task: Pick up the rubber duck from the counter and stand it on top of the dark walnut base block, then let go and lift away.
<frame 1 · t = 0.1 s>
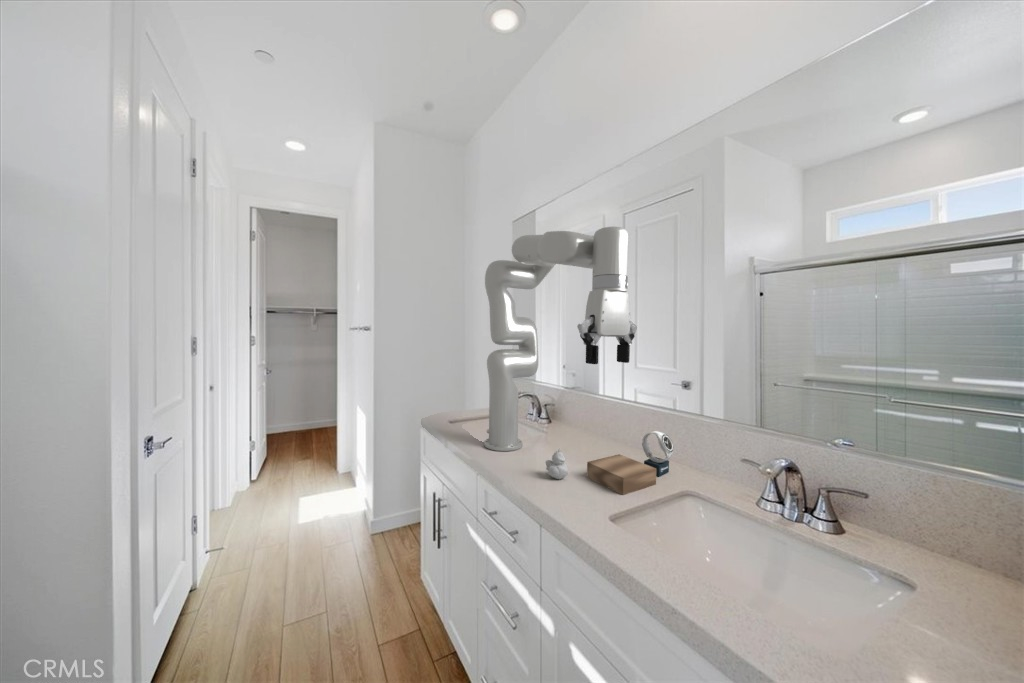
hand: (607, 362, 81), 31 cm above the worktop, tool pointing down, fingers open, 9 cm apart
rubber duck: (556, 477, 95), on the worktop
watch: (656, 473, 99), on the worktop
walnut base: (620, 480, 93), on the worktop
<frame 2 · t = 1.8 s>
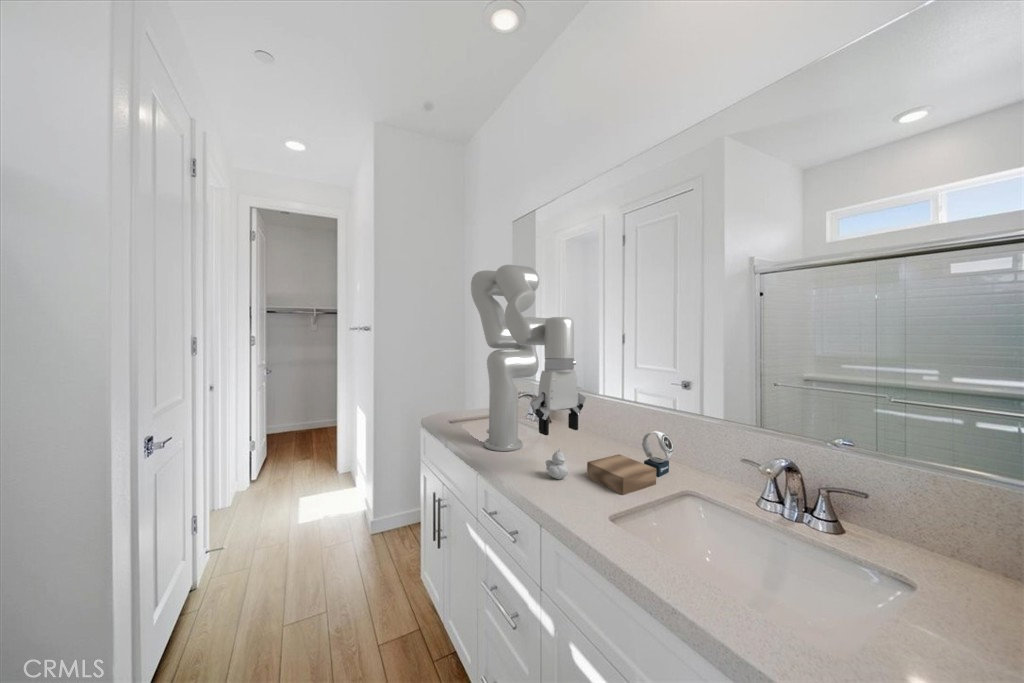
hand: (558, 431, 94), 12 cm above the worktop, tool pointing down, fingers open, 9 cm apart
nothing on the worktop moved.
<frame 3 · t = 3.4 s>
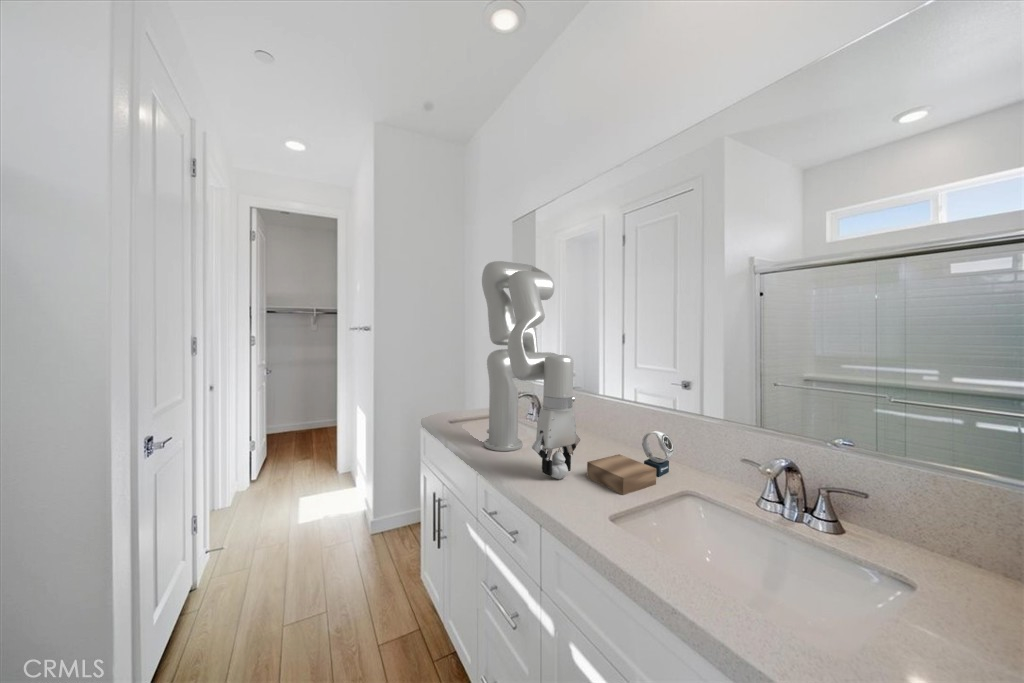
hand: (556, 471, 95), 2 cm above the worktop, tool pointing down, fingers closed on rubber duck, 5 cm apart
rubber duck: (556, 477, 95), on the worktop, touching gripper
everything else where it was.
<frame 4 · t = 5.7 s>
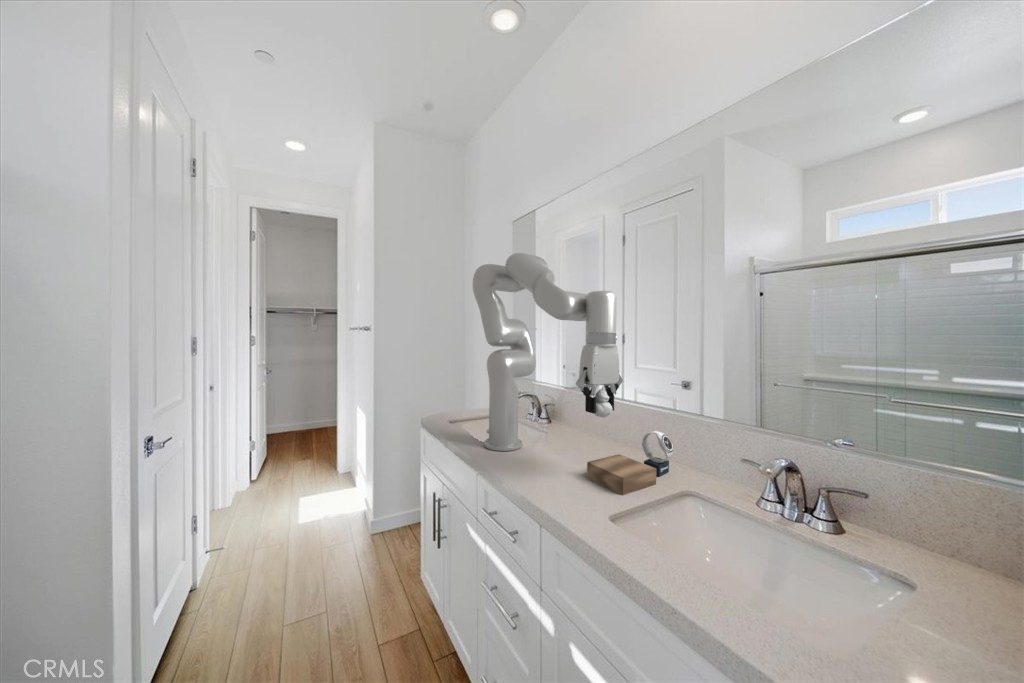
hand: (599, 410, 93), 18 cm above the worktop, tool pointing down, fingers closed on rubber duck, 5 cm apart
rubber duck: (599, 417, 93), point 16 cm above the worktop, touching gripper
everything else where it was.
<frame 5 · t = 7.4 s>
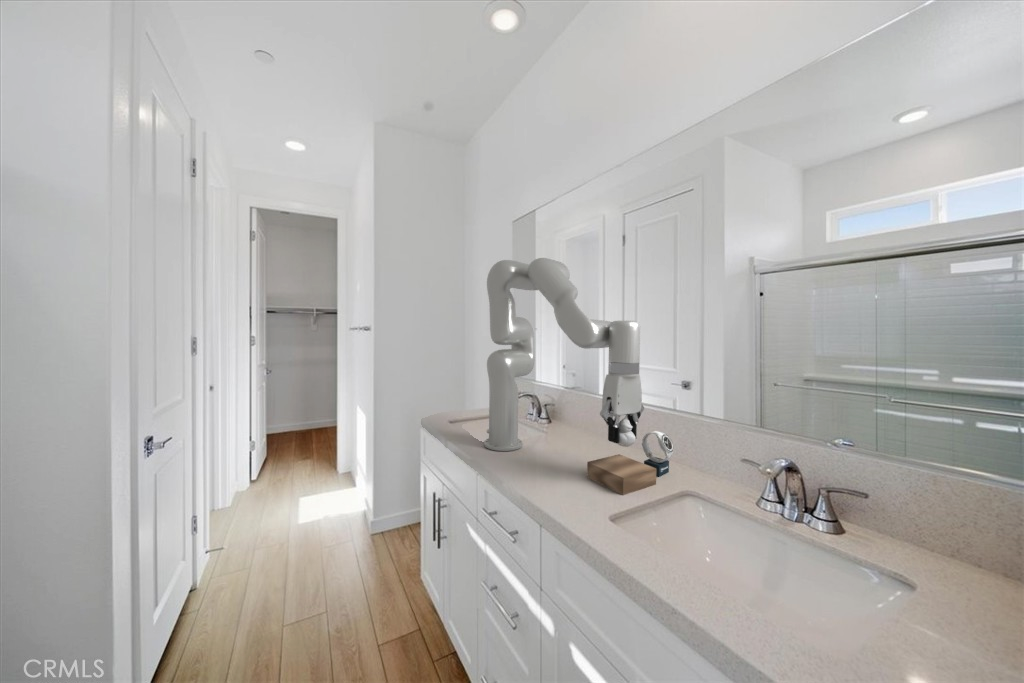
hand: (622, 439, 93), 11 cm above the worktop, tool pointing down, fingers closed on rubber duck, 5 cm apart
rubber duck: (622, 446, 93), point 9 cm above the worktop, touching gripper
everything else where it was.
when the fingers open (7 cm above the worktop, at t = 8.5 s): rubber duck drops 1 cm, resting on walnut base.
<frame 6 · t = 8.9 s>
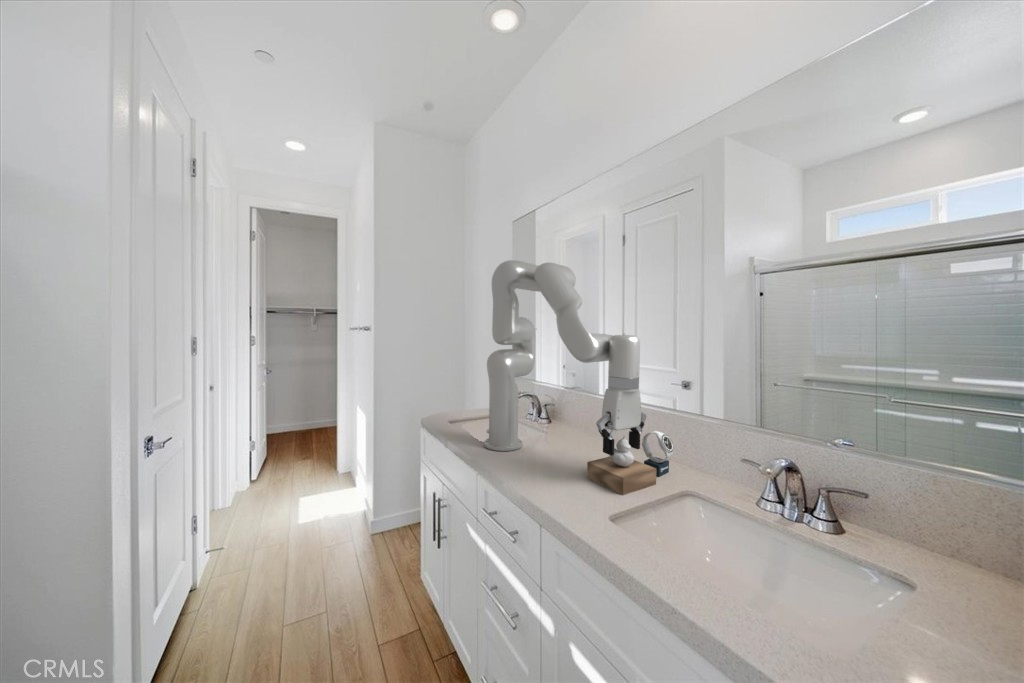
hand: (621, 450, 93), 8 cm above the worktop, tool pointing down, fingers open, 9 cm apart
rubber duck: (620, 465, 93), point 4 cm above the worktop, touching walnut base
everything else where it was.
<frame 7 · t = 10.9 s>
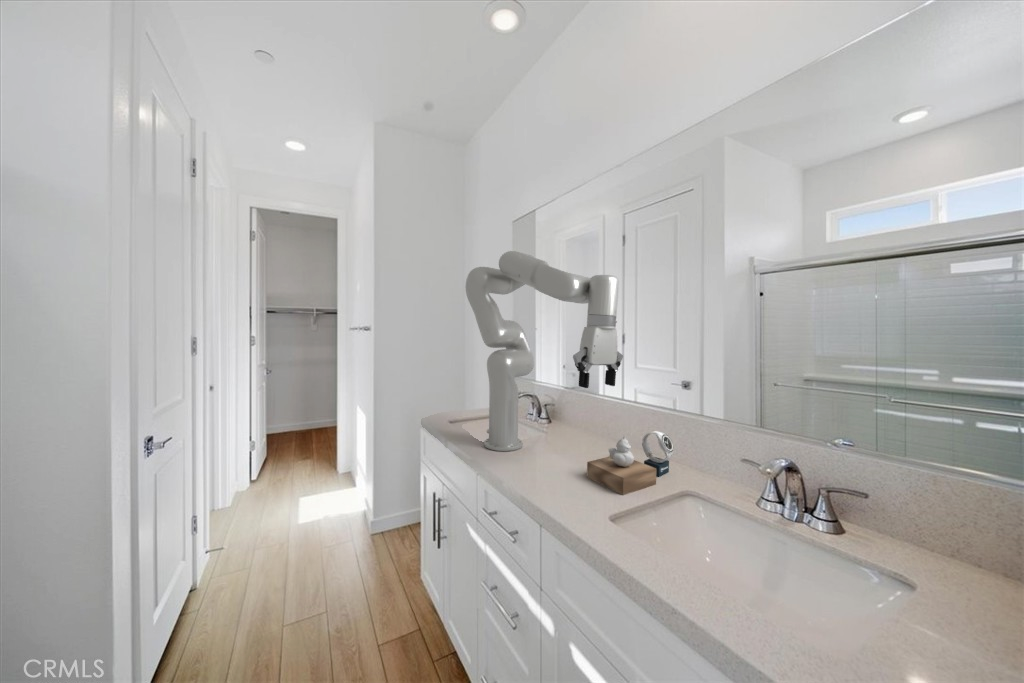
hand: (596, 386, 98), 23 cm above the worktop, tool pointing down, fingers open, 9 cm apart
nothing on the worktop moved.
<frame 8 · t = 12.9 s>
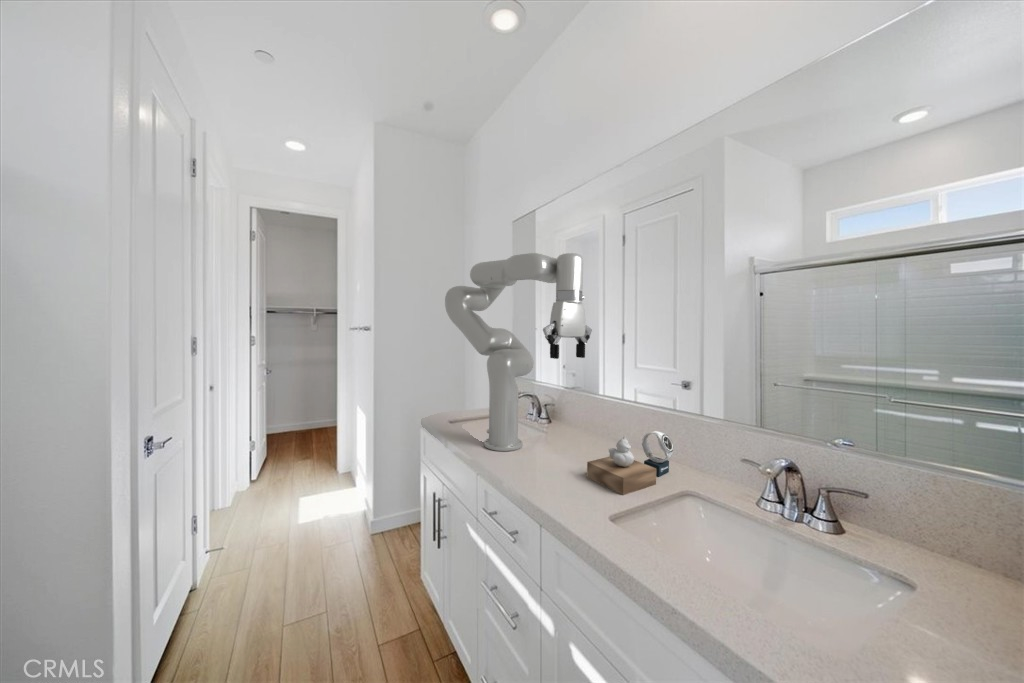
hand: (567, 357, 105), 30 cm above the worktop, tool pointing down, fingers open, 9 cm apart
nothing on the worktop moved.
at the end: rubber duck inside the target area on the walnut base (0.1 cm from its centre), point 3.8 cm above the walnut base's base; rubber duck tilted 0°; the gripper is holding nothing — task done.
